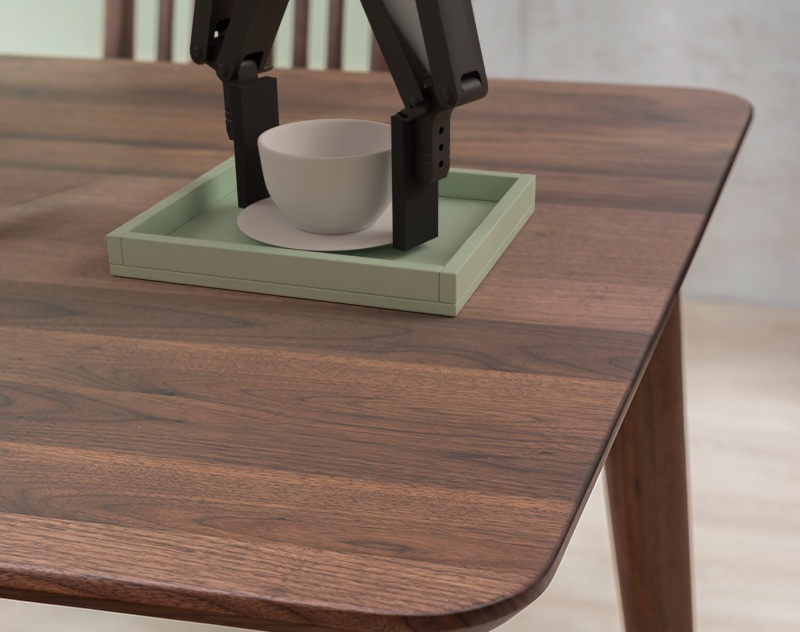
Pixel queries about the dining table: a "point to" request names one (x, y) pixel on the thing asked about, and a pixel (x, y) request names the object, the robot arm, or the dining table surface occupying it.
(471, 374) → the dining table surface
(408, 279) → the tray
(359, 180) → the teacup
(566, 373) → the dining table surface
